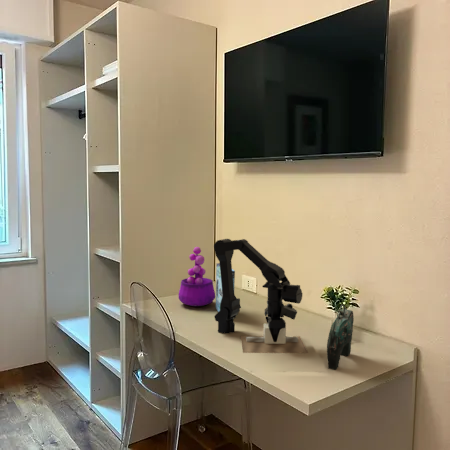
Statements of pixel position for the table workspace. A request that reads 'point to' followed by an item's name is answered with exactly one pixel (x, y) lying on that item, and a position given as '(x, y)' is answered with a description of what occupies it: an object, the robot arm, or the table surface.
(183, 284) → the decorative plant
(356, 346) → the table surface
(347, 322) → the dark green upright piece
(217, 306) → the gum box
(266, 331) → the notched block
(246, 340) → the cleat board
